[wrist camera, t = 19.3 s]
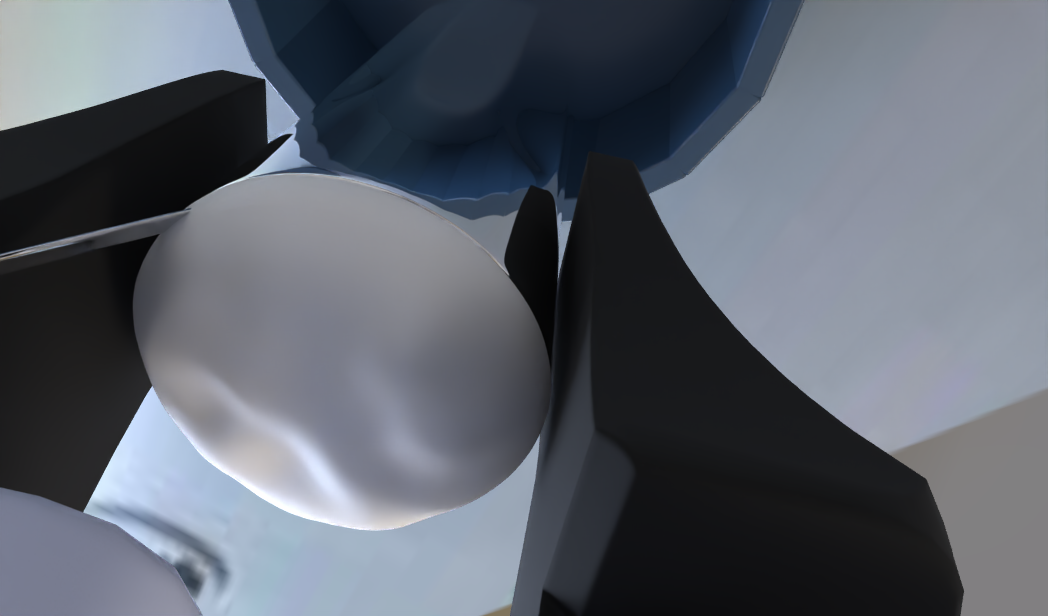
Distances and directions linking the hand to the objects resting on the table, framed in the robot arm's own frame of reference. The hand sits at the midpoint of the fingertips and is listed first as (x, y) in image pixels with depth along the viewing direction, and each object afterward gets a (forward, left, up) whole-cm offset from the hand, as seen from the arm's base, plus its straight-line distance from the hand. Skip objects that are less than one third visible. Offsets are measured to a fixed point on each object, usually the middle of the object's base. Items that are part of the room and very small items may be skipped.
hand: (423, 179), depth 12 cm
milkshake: (0, 0, -5) cm, 5 cm away
